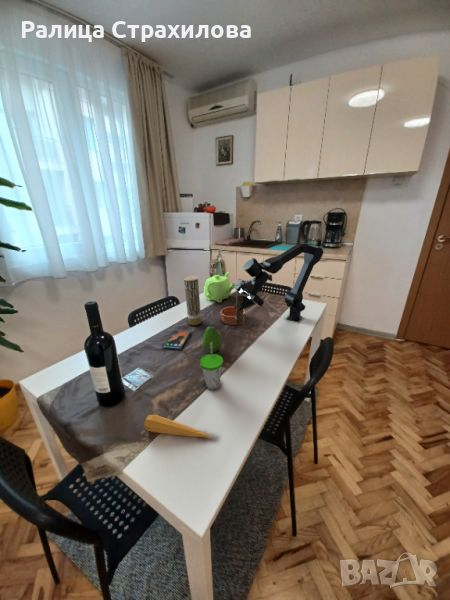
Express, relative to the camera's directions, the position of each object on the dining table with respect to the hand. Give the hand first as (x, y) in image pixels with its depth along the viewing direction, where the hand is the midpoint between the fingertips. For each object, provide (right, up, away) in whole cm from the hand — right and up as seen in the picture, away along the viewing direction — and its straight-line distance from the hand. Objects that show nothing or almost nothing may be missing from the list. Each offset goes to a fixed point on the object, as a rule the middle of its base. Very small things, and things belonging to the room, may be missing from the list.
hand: (237, 309), depth 110 cm
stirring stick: (+1, -6, +3) cm, 7 cm away
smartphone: (-28, -15, +1) cm, 31 cm away
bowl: (-1, -6, +18) cm, 19 cm away
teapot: (-7, +5, +47) cm, 48 cm away
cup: (-10, -26, -27) cm, 39 cm away
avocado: (-11, -18, -8) cm, 22 cm away
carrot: (-18, -33, -44) cm, 58 cm away
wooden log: (-22, -8, +16) cm, 28 cm away
